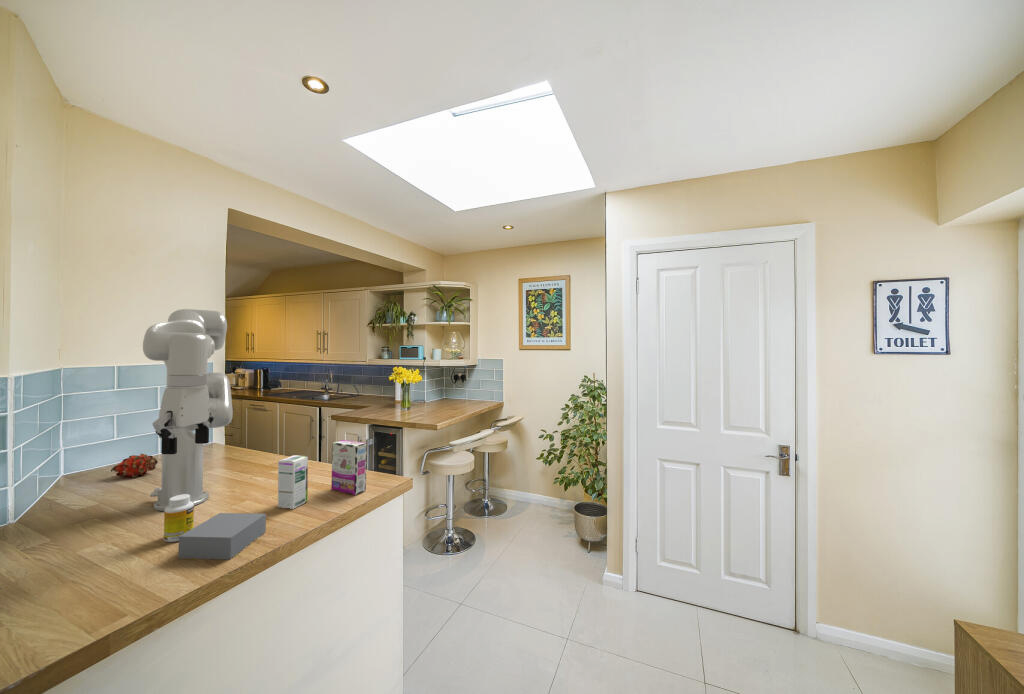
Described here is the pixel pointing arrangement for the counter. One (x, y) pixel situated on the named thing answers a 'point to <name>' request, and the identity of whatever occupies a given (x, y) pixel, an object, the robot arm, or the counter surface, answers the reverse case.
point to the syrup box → (292, 481)
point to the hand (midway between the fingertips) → (186, 448)
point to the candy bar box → (349, 467)
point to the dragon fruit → (135, 466)
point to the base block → (221, 536)
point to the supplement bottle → (178, 517)
